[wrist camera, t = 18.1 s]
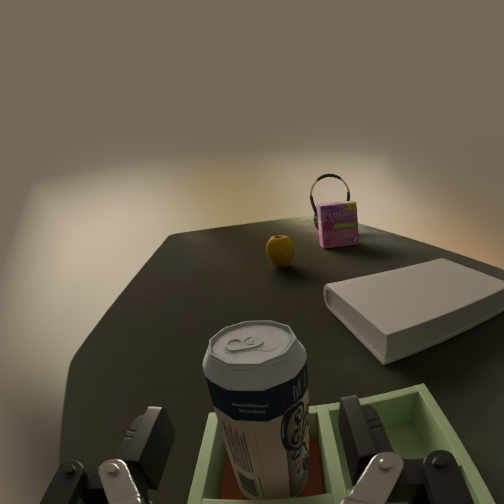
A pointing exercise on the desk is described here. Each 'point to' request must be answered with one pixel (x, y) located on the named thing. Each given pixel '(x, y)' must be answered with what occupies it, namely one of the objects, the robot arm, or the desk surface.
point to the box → (338, 224)
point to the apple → (280, 250)
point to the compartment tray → (342, 451)
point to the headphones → (312, 197)
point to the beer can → (261, 406)
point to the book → (414, 306)
